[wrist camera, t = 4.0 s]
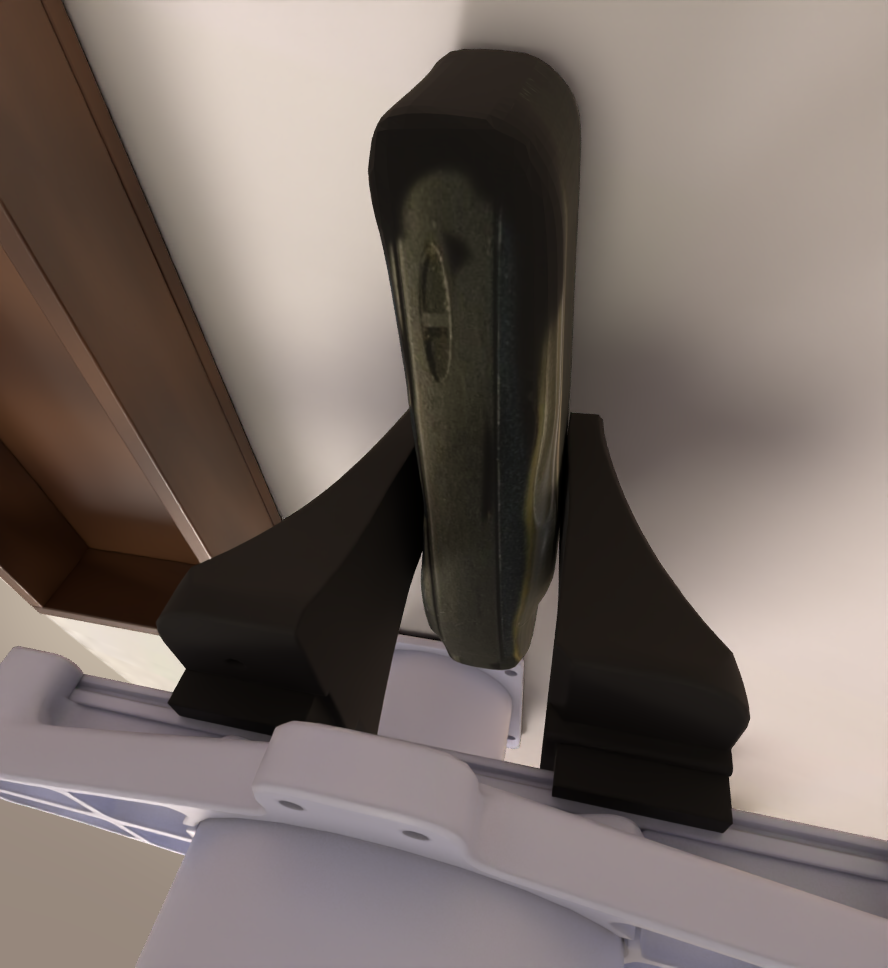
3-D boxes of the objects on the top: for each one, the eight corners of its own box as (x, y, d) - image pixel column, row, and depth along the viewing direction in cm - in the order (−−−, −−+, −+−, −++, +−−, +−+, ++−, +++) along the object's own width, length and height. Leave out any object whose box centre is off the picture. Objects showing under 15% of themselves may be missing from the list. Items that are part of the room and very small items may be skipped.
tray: (306, 578, 24) (270, 657, 22) (92, 545, 26) (38, 613, 24) (36, -62, 10) (-139, -32, 8) (-371, -23, 12) (-603, 10, 10)
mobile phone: (306, 125, 7) (438, 712, 17) (574, 111, 6) (543, 731, 17) (416, 44, 10) (471, 574, 21) (596, 29, 10) (559, 586, 20)
